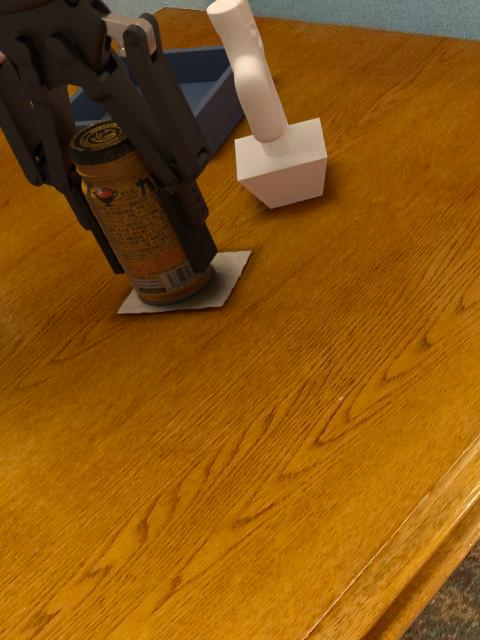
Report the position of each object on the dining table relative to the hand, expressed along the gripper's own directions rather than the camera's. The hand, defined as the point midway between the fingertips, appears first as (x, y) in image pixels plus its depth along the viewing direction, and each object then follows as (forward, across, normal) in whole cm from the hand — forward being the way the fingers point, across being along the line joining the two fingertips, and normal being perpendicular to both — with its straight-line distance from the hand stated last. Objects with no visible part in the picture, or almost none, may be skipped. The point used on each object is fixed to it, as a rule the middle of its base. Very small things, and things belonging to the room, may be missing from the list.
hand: (166, 262), depth 75 cm
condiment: (+2, -1, 0) cm, 2 cm away
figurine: (+2, -5, -13) cm, 14 cm away
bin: (+2, +13, -26) cm, 29 cm away
